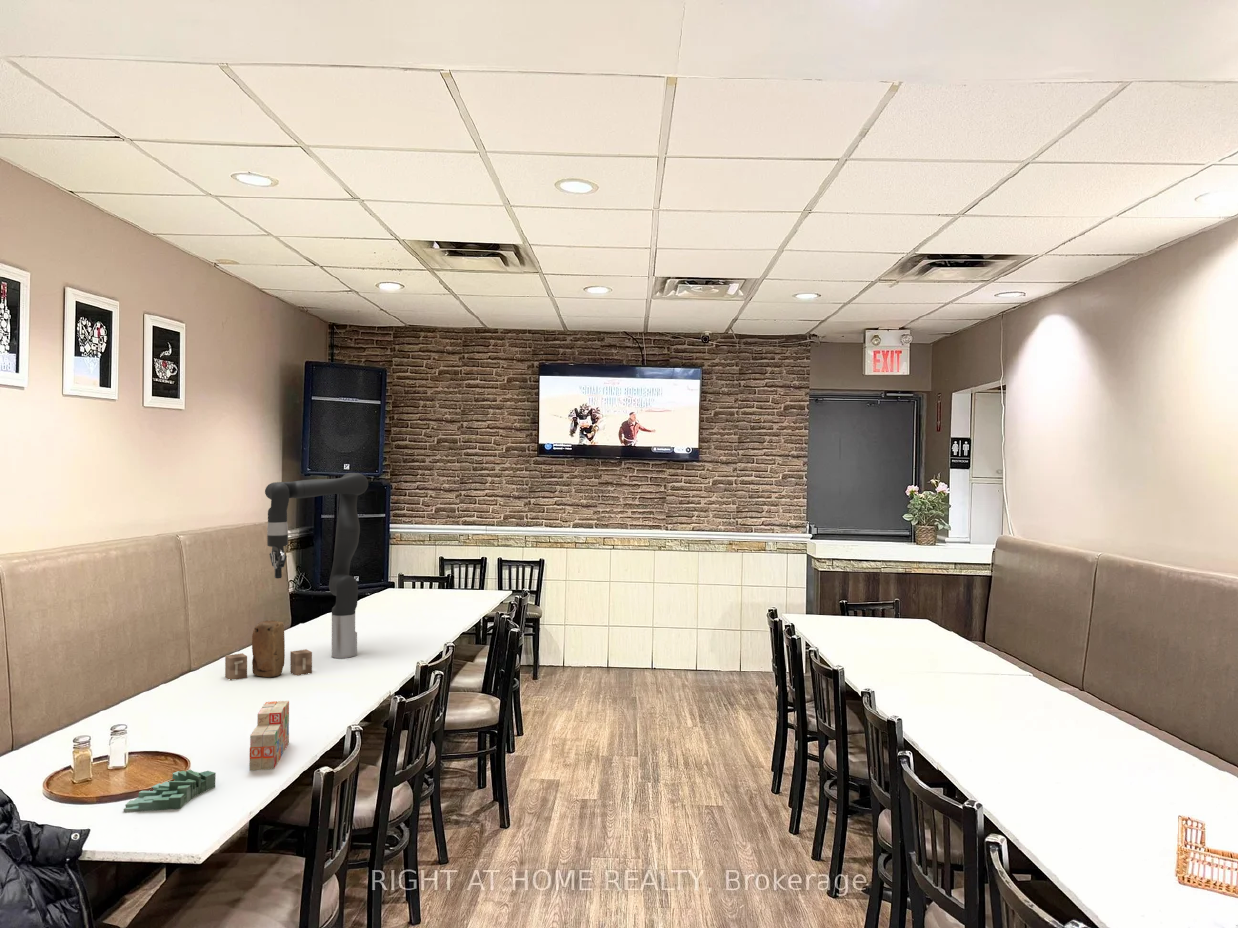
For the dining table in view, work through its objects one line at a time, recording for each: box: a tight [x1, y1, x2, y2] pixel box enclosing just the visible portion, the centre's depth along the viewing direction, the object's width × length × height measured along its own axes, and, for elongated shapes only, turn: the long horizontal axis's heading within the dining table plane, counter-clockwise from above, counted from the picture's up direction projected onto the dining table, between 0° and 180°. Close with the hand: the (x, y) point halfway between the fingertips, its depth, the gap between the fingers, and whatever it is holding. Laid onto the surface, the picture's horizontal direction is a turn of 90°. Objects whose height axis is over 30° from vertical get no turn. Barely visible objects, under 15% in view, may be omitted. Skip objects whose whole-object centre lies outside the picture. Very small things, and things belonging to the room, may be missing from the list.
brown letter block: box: [224, 652, 248, 681], centre depth 312 cm, size 6×6×8 cm
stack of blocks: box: [249, 700, 290, 771], centre depth 229 cm, size 21×6×12 cm, turn 12°
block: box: [251, 619, 286, 678], centre depth 315 cm, size 11×8×20 cm
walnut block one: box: [289, 648, 313, 676], centre depth 319 cm, size 6×6×8 cm
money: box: [122, 769, 217, 813], centre depth 203 cm, size 20×16×5 cm
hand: (278, 578), depth 329 cm, fingers closed
